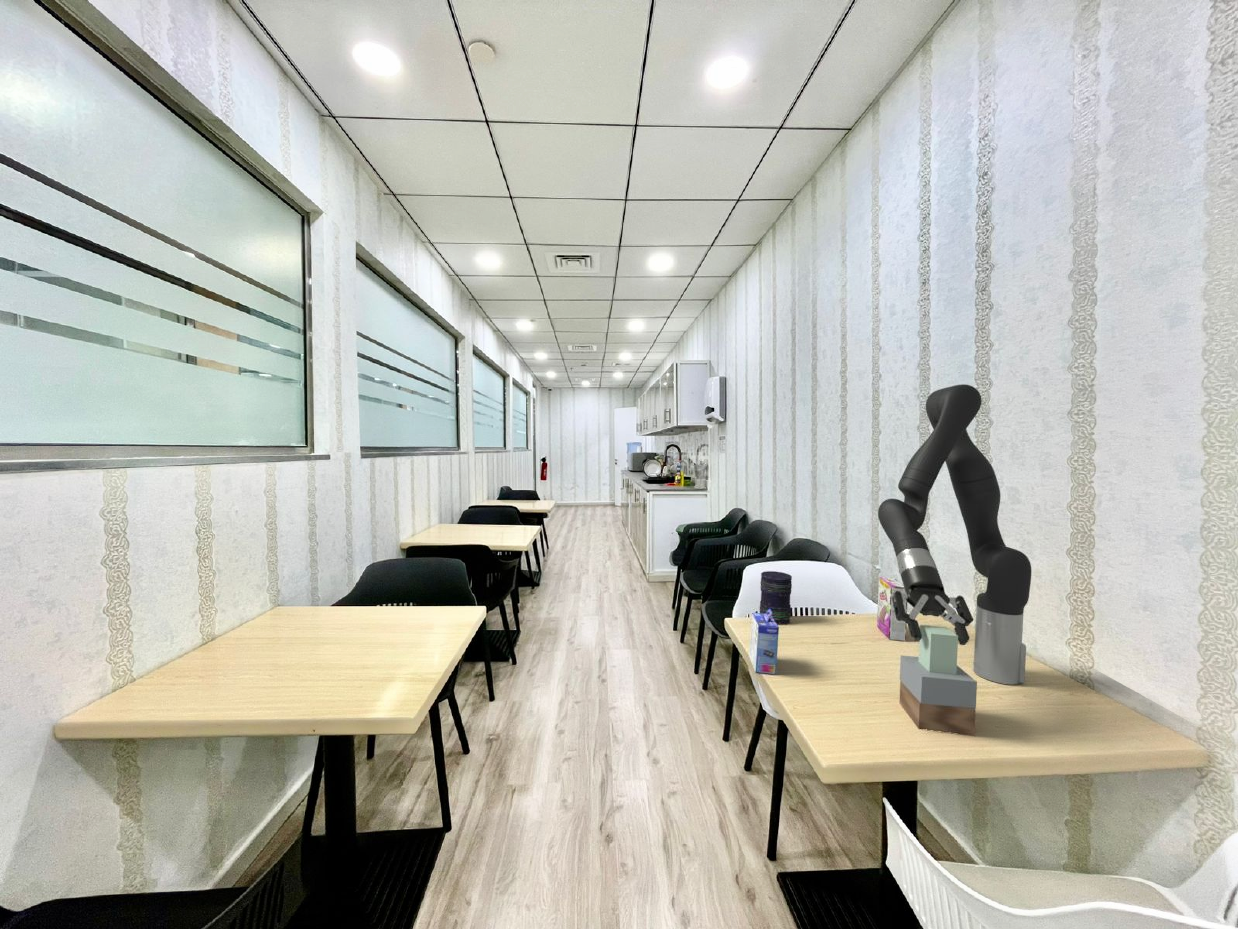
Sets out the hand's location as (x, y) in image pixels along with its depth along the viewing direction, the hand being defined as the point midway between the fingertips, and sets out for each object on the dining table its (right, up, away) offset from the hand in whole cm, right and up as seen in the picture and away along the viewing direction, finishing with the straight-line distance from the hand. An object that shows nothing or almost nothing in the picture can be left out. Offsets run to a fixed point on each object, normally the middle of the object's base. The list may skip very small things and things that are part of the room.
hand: (941, 641), depth 97 cm
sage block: (0, -6, +1) cm, 6 cm away
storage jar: (-15, -15, +58) cm, 62 cm away
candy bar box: (+17, -16, +48) cm, 54 cm away
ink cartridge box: (-30, -16, +24) cm, 41 cm away
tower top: (0, -12, +2) cm, 12 cm away
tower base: (0, -17, +2) cm, 17 cm away
